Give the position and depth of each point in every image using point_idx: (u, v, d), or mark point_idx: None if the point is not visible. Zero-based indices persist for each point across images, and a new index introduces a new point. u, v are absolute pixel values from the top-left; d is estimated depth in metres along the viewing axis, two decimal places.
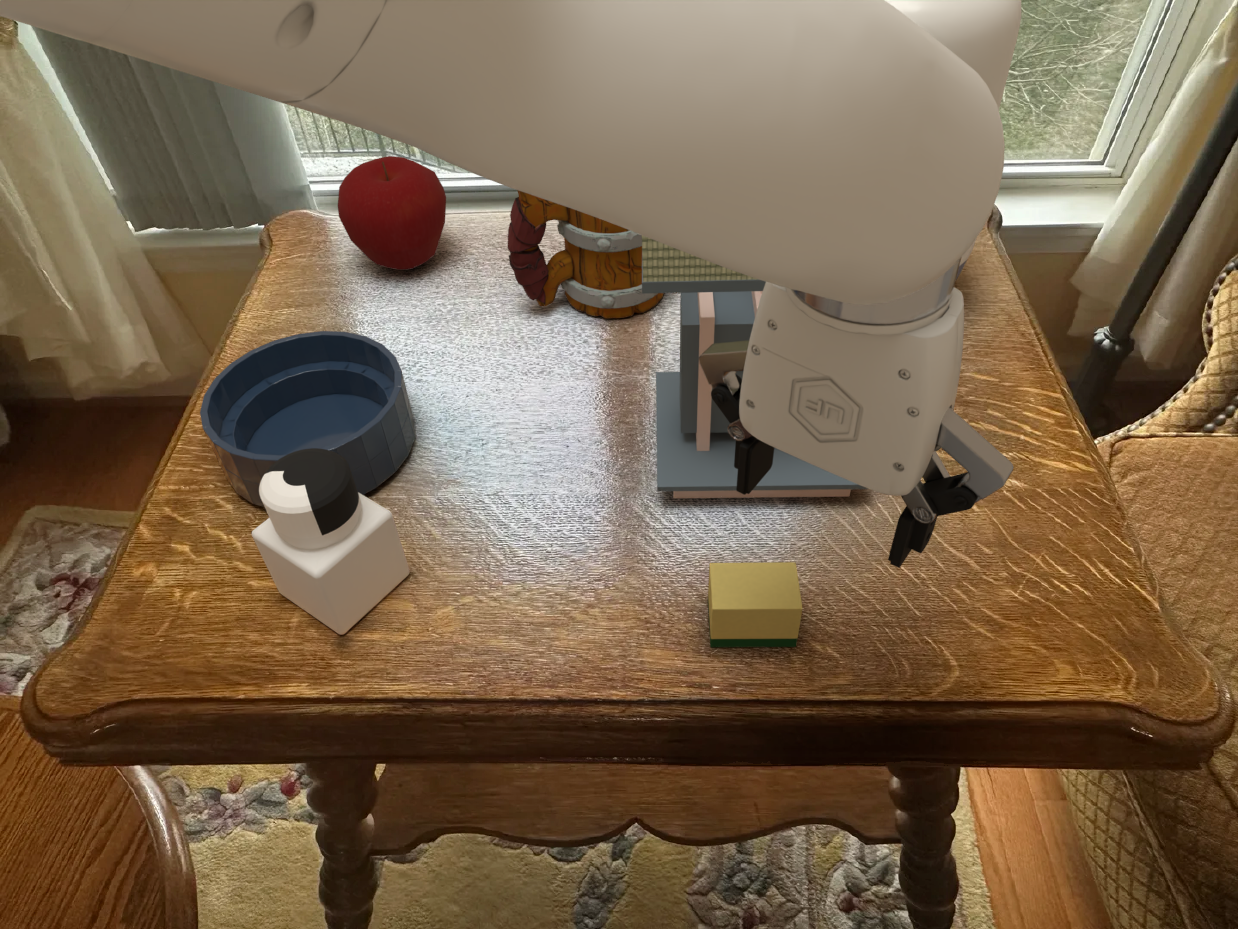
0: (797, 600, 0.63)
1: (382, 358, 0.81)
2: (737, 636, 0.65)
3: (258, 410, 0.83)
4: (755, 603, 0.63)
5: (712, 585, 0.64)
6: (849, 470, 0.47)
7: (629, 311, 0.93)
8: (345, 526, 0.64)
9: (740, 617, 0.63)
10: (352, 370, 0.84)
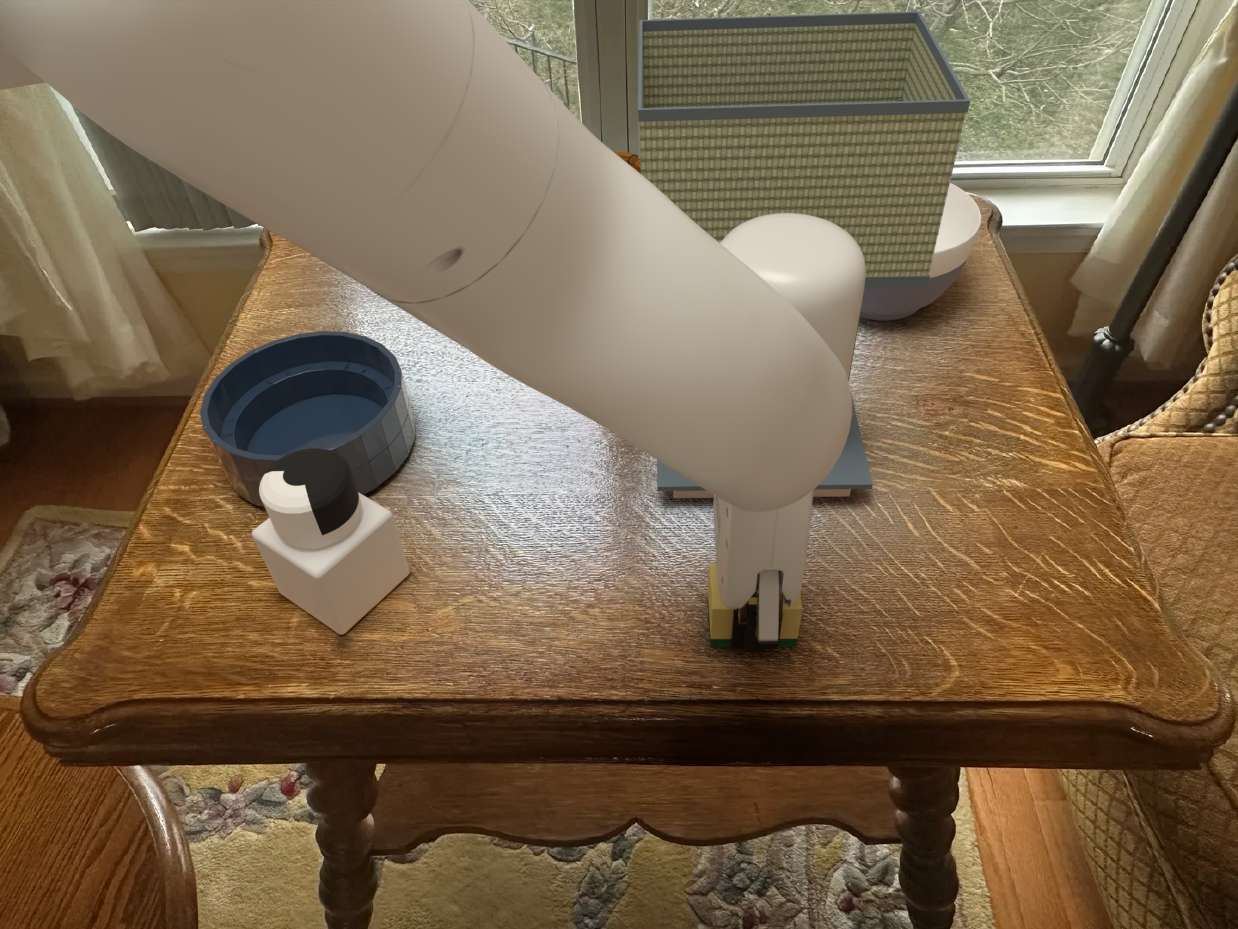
0: (797, 600, 0.63)
1: (382, 358, 0.81)
2: None
3: (258, 410, 0.83)
4: (755, 603, 0.63)
5: (712, 585, 0.64)
6: (717, 566, 0.60)
7: None
8: (345, 526, 0.64)
9: None
10: (352, 370, 0.84)
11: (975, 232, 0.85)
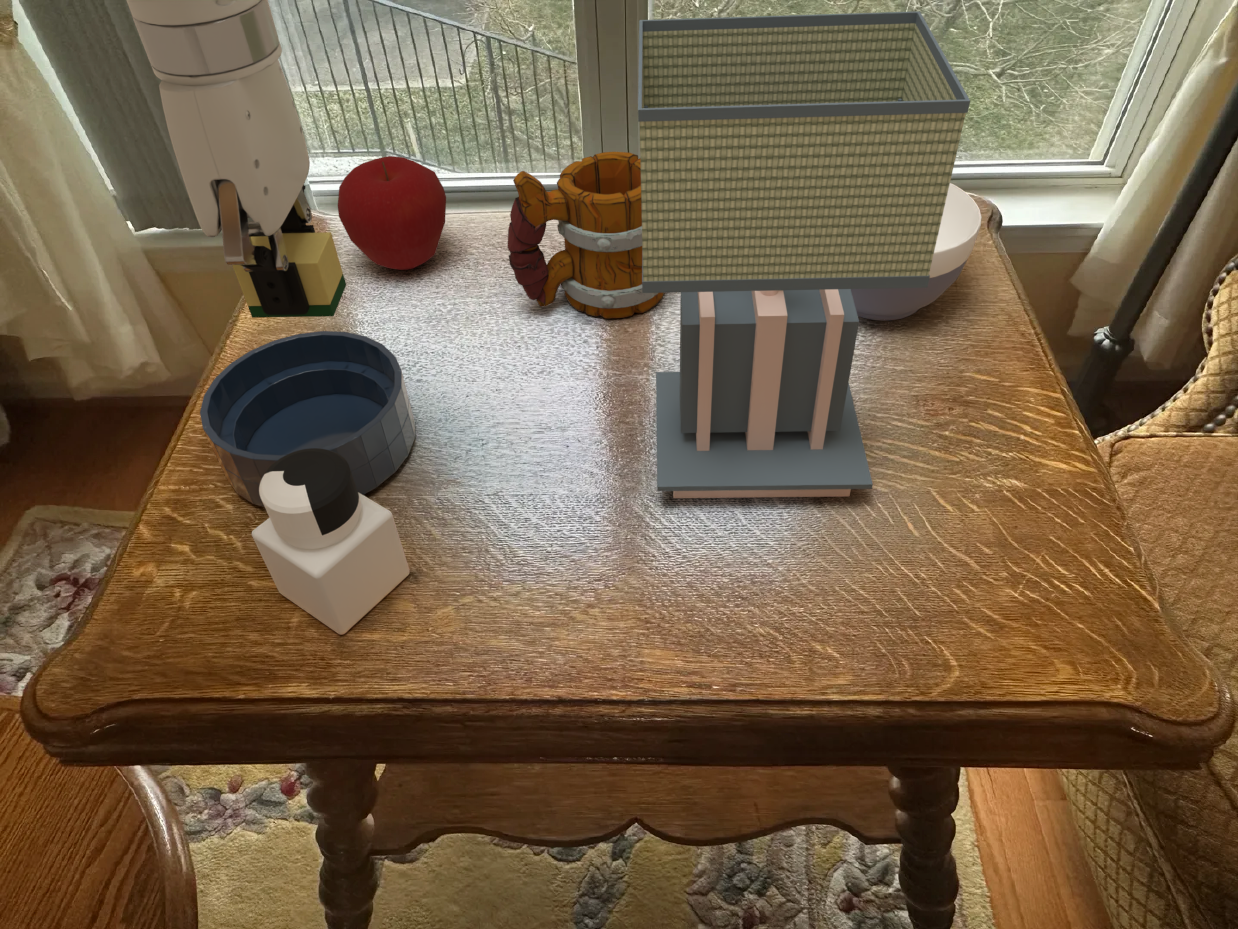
0: (315, 257, 0.65)
1: (382, 358, 0.81)
2: None
3: (258, 410, 0.83)
4: None
5: None
6: None
7: (629, 311, 0.93)
8: (345, 526, 0.64)
9: None
10: (352, 370, 0.84)
11: (975, 232, 0.85)
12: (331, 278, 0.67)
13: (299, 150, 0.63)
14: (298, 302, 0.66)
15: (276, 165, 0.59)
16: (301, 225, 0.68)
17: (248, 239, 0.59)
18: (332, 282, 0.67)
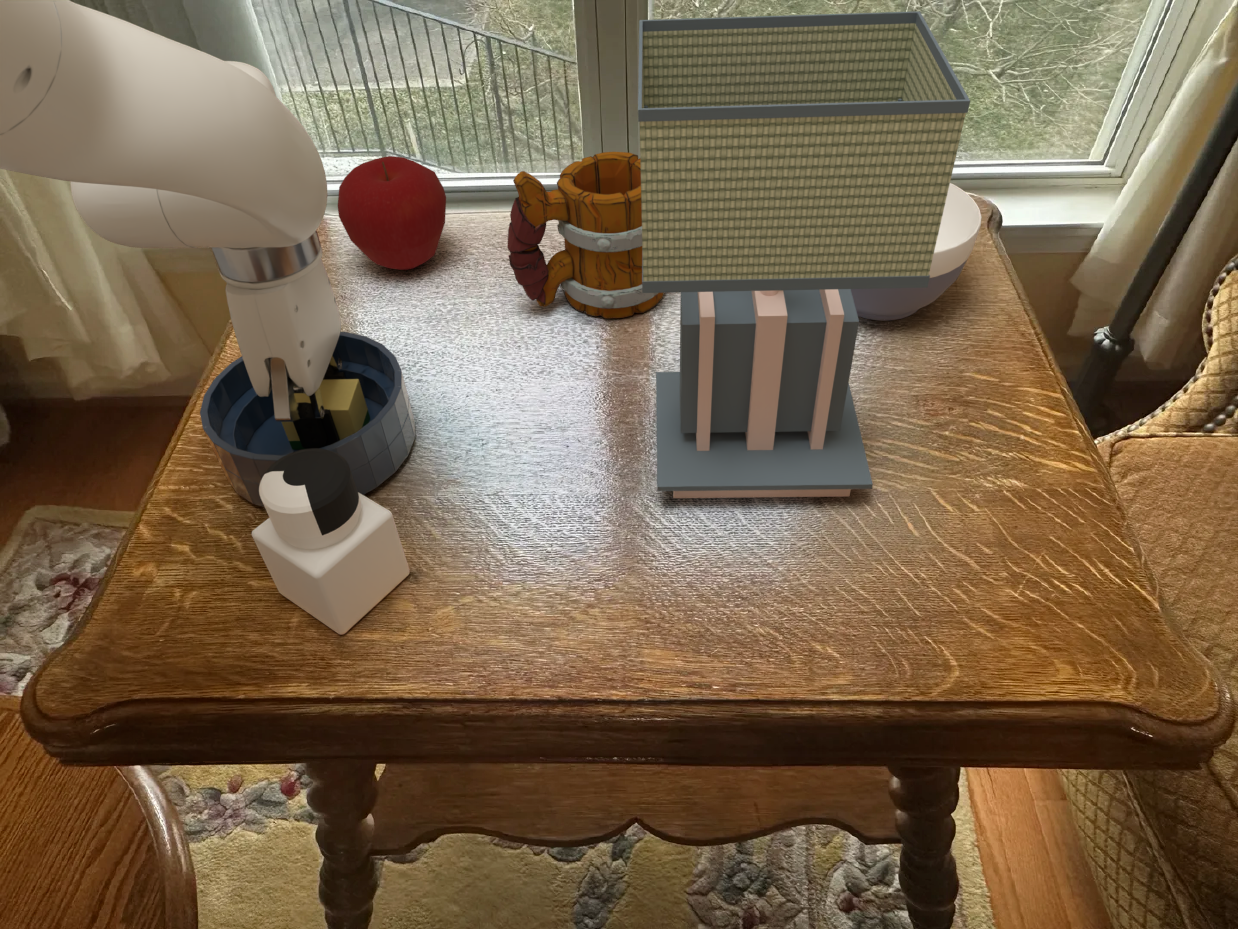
0: (346, 404, 0.78)
1: (382, 358, 0.81)
2: None
3: (258, 410, 0.83)
4: None
5: None
6: None
7: (629, 311, 0.93)
8: (345, 526, 0.64)
9: None
10: (352, 370, 0.84)
11: (975, 232, 0.85)
12: (358, 417, 0.80)
13: (333, 318, 0.77)
14: (331, 440, 0.79)
15: (316, 340, 0.72)
16: (333, 372, 0.81)
17: (293, 400, 0.72)
18: (359, 420, 0.80)
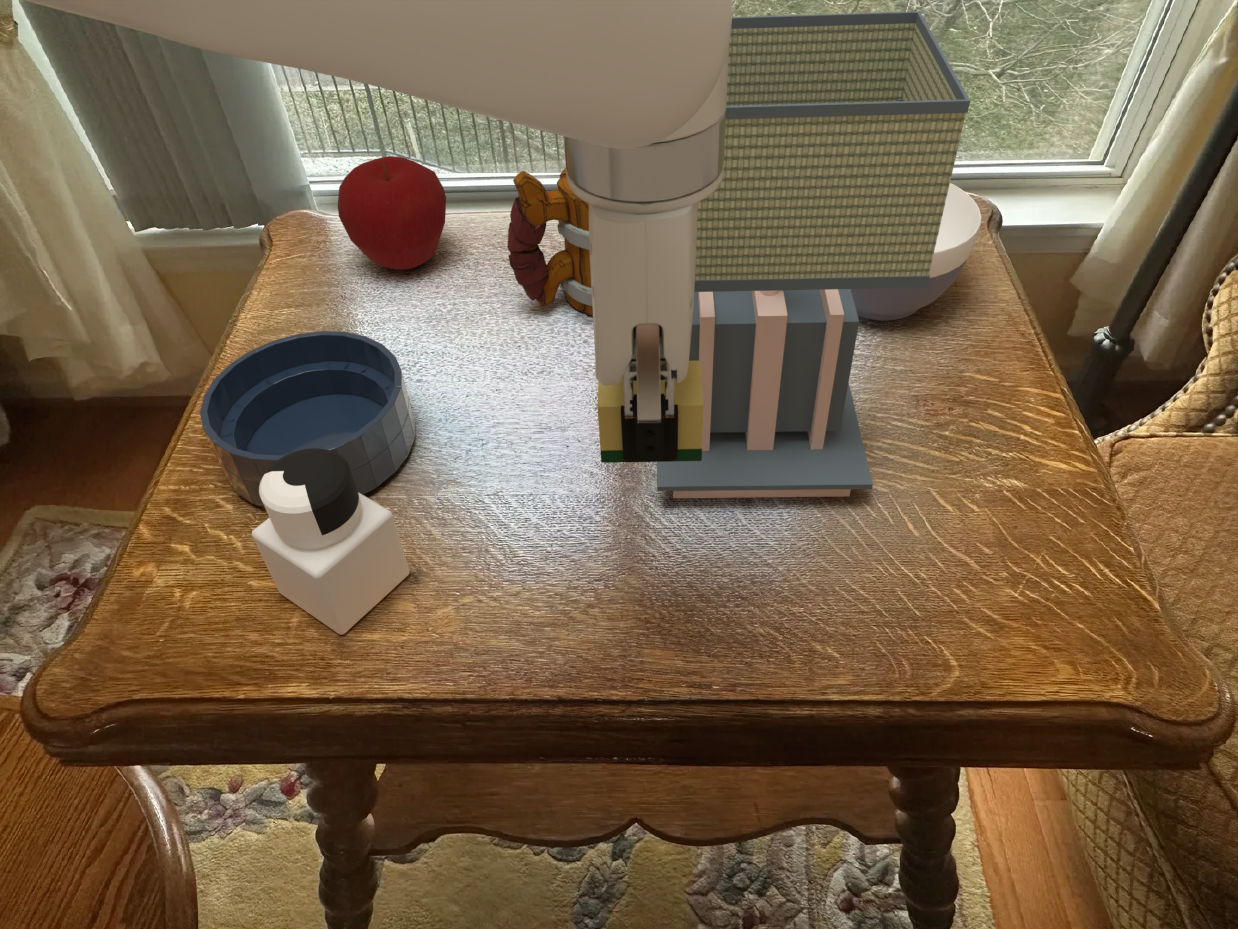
0: (698, 396, 0.53)
1: (382, 358, 0.81)
2: None
3: (258, 410, 0.83)
4: None
5: (600, 383, 0.54)
6: None
7: None
8: (345, 526, 0.64)
9: None
10: (352, 370, 0.84)
11: (975, 232, 0.85)
12: None
13: None
14: (669, 448, 0.54)
15: None
16: None
17: None
18: None
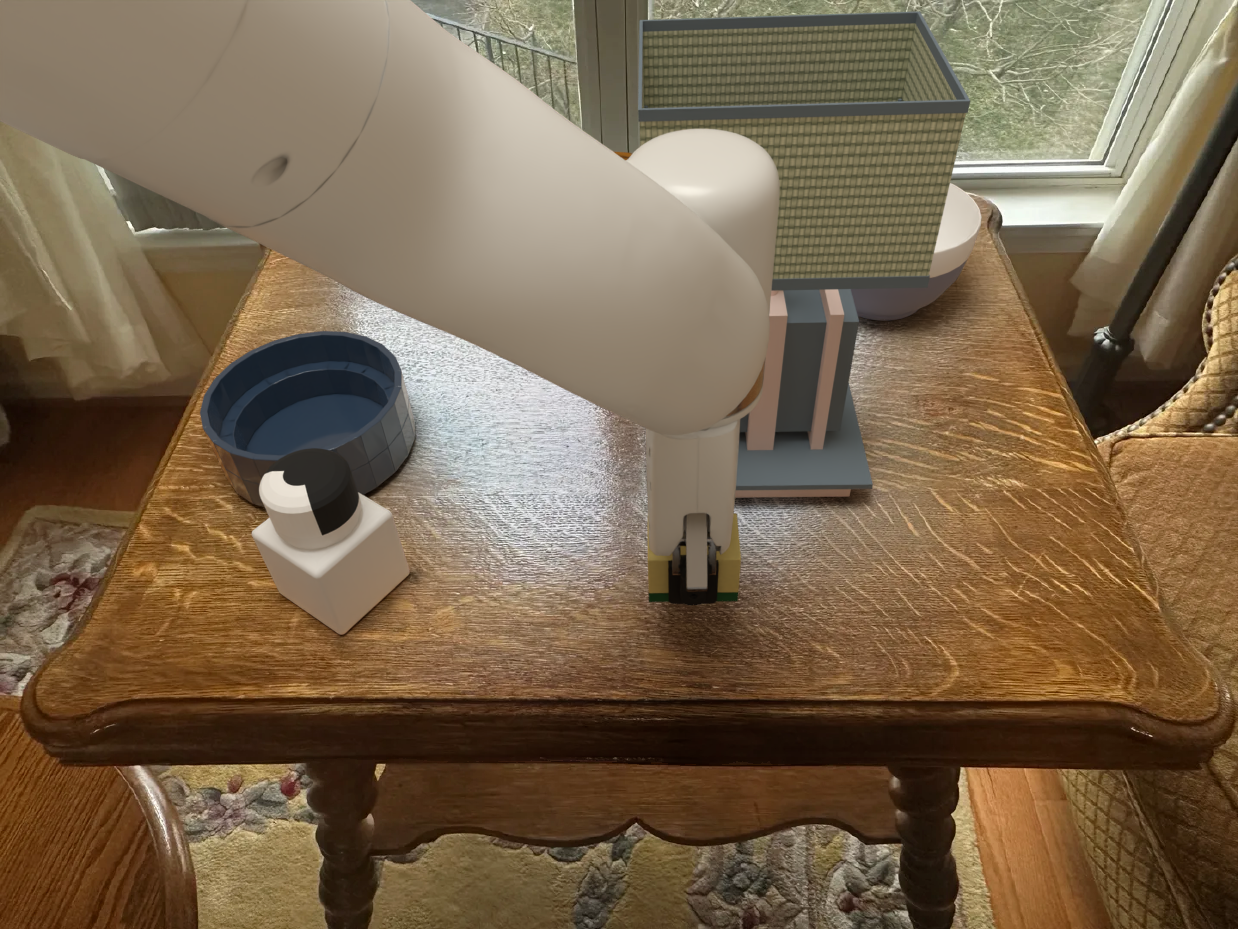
0: (736, 551, 0.61)
1: (382, 358, 0.81)
2: None
3: (258, 410, 0.83)
4: None
5: None
6: None
7: None
8: (345, 526, 0.64)
9: None
10: (352, 370, 0.84)
11: (975, 232, 0.85)
12: None
13: None
14: (710, 594, 0.62)
15: None
16: None
17: None
18: None
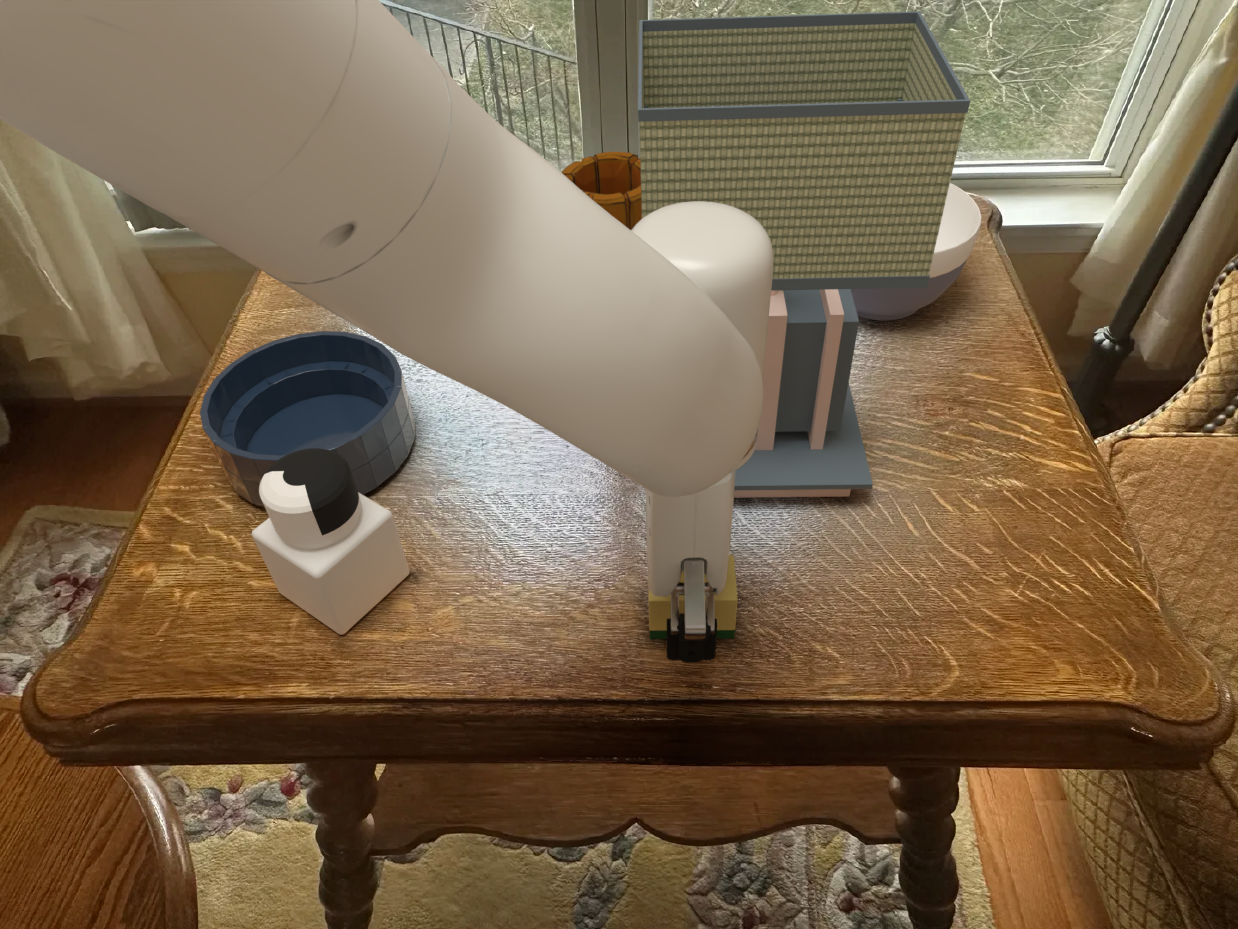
0: (732, 592, 0.64)
1: (382, 358, 0.81)
2: None
3: (258, 410, 0.83)
4: None
5: None
6: None
7: None
8: (345, 526, 0.64)
9: None
10: (352, 370, 0.84)
11: (975, 232, 0.85)
12: None
13: None
14: (708, 651, 0.62)
15: None
16: None
17: None
18: None
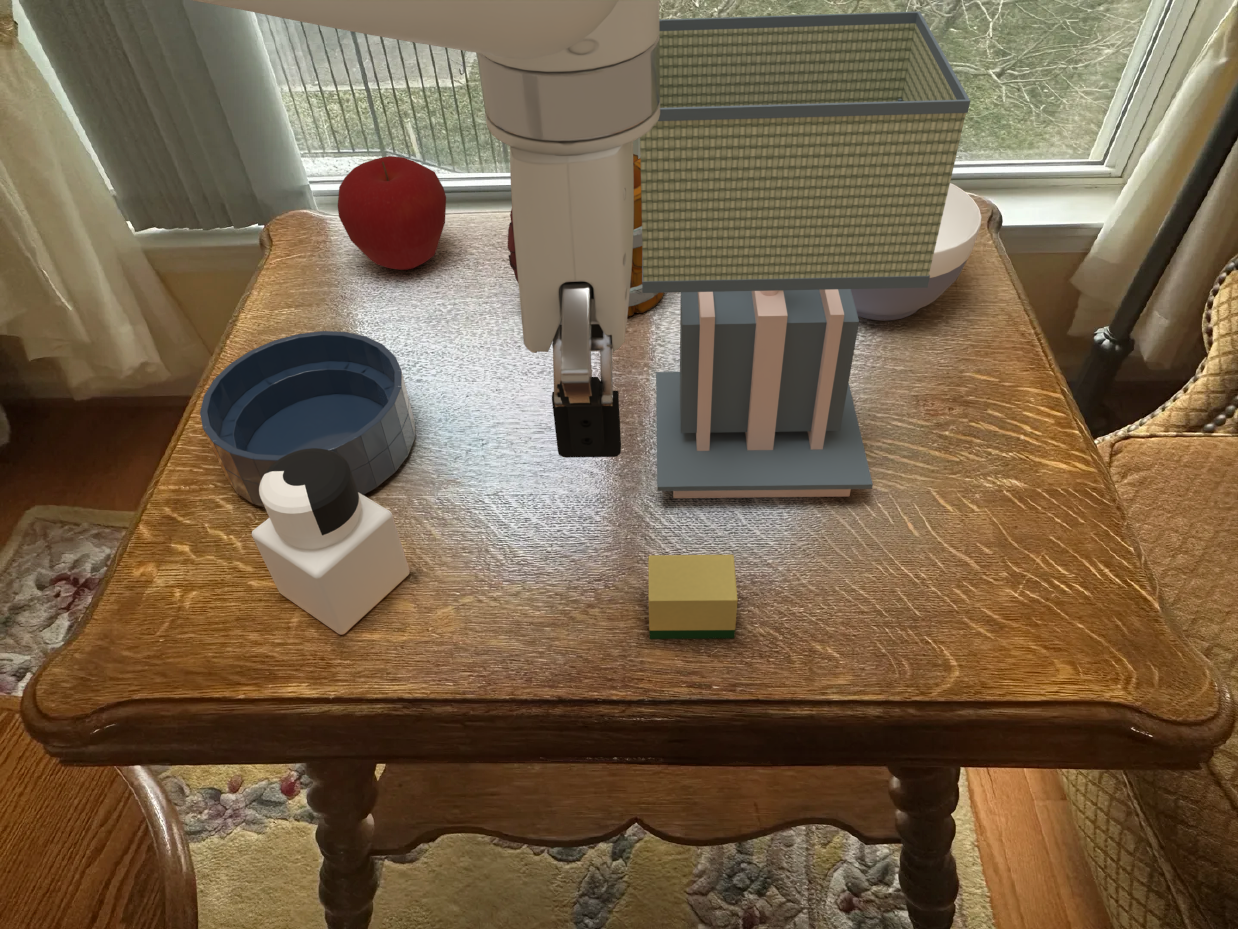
0: (732, 592, 0.64)
1: (382, 358, 0.81)
2: (675, 628, 0.66)
3: (258, 410, 0.83)
4: (691, 594, 0.64)
5: (650, 577, 0.65)
6: None
7: (629, 311, 0.93)
8: (345, 526, 0.64)
9: (676, 609, 0.64)
10: (352, 370, 0.84)
11: (975, 232, 0.85)
12: None
13: None
14: (611, 442, 0.47)
15: (631, 256, 0.43)
16: None
17: (590, 332, 0.41)
18: None
